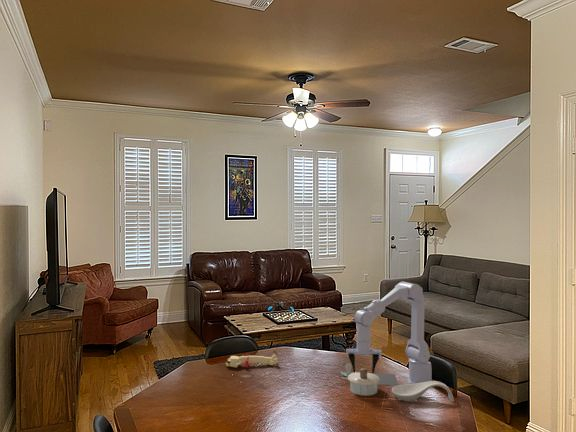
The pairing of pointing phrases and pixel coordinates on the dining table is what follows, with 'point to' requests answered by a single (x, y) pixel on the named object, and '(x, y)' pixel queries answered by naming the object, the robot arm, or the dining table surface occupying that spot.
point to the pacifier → (347, 370)
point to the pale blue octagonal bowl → (363, 389)
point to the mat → (386, 379)
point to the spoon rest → (417, 390)
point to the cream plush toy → (252, 360)
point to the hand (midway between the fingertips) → (363, 372)
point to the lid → (363, 377)
